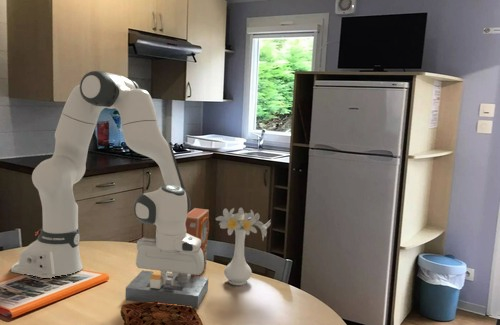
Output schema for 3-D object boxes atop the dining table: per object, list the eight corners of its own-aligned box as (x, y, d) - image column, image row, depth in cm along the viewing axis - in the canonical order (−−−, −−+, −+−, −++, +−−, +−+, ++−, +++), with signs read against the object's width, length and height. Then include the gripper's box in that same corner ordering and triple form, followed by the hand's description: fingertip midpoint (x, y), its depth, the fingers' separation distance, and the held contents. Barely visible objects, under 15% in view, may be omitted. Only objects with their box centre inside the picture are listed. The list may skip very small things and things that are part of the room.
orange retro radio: (209, 265, 171) (196, 281, 156) (190, 263, 172) (176, 278, 158) (212, 208, 168) (199, 219, 153) (193, 206, 169) (178, 217, 154)
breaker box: (125, 300, 139) (125, 275, 138) (142, 282, 153) (142, 259, 152) (197, 308, 137) (198, 283, 136) (207, 289, 151) (208, 266, 149)
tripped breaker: (149, 287, 139) (150, 276, 139) (154, 281, 144) (155, 270, 143) (159, 288, 139) (160, 277, 138) (164, 282, 143) (164, 271, 143)
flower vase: (266, 291, 152) (272, 216, 148) (210, 287, 152) (214, 213, 148) (266, 276, 165) (271, 207, 161) (214, 272, 165) (218, 203, 161)
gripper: (133, 239, 137) (131, 284, 139) (201, 247, 134) (199, 292, 136) (141, 233, 143) (139, 276, 145) (206, 240, 141) (204, 284, 143)
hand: (169, 284), depth 141 cm, fingers closed
